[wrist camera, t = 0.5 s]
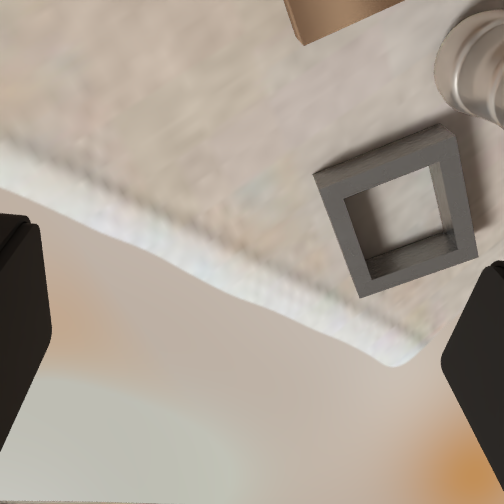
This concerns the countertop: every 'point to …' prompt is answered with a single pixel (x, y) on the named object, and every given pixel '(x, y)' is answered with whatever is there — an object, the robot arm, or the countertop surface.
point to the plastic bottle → (474, 66)
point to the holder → (386, 169)
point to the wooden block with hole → (329, 15)
